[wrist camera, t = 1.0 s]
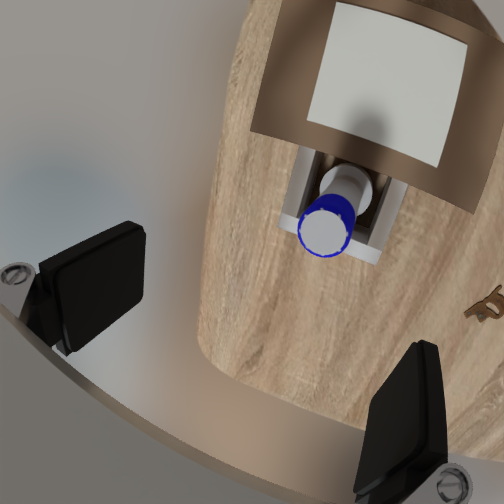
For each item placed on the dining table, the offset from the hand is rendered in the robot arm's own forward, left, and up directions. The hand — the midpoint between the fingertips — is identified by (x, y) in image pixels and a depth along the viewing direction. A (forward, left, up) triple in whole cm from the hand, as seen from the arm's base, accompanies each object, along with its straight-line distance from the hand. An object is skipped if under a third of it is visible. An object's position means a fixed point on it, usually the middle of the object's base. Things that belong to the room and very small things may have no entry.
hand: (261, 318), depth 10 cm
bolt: (0, 0, -25) cm, 25 cm away
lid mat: (-1, -11, -16) cm, 19 cm away
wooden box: (-1, -6, -24) cm, 25 cm away
